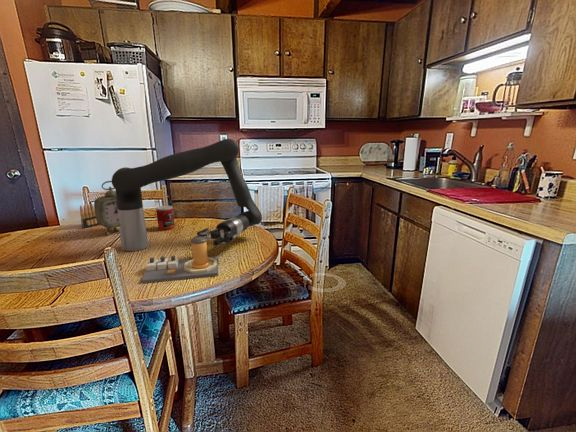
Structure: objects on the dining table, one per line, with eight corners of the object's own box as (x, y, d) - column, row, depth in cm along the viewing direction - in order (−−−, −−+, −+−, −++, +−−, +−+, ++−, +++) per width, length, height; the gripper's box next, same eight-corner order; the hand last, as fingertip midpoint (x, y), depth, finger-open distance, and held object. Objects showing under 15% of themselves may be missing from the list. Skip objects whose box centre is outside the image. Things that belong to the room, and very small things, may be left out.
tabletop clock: (105, 237, 138) (95, 183, 131) (97, 233, 143) (87, 182, 136) (136, 229, 149) (128, 179, 142) (127, 226, 154) (120, 178, 147)
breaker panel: (141, 283, 95) (139, 271, 94) (151, 264, 109) (149, 254, 107) (218, 275, 100) (217, 264, 99) (218, 258, 113) (217, 248, 112)
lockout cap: (188, 267, 104) (185, 240, 101) (199, 261, 109) (197, 235, 106) (202, 270, 102) (200, 243, 99) (213, 263, 107) (211, 237, 104)
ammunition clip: (84, 228, 150) (79, 205, 147) (82, 228, 151) (77, 205, 148) (105, 223, 159) (101, 201, 156) (103, 222, 160) (99, 201, 157)
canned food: (165, 231, 145) (162, 209, 142) (155, 228, 149) (152, 207, 146) (178, 227, 152) (175, 206, 149) (168, 225, 156) (165, 204, 153)
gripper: (214, 218, 122) (187, 229, 107) (244, 221, 116) (220, 234, 102) (216, 235, 124) (189, 248, 109) (245, 239, 118) (221, 254, 104)
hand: (204, 241), depth 106 cm, fingers open, 8 cm apart
